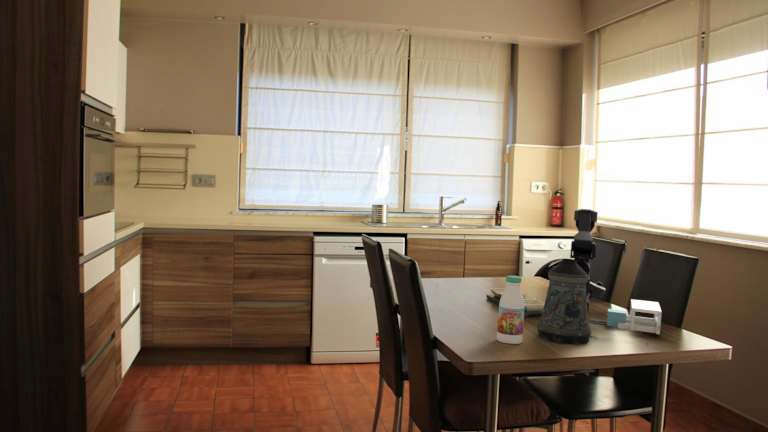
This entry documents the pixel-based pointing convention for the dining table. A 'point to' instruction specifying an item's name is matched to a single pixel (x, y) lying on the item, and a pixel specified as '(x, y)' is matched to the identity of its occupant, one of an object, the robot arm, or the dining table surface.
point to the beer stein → (566, 306)
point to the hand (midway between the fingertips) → (577, 318)
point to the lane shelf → (642, 322)
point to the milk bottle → (511, 312)
